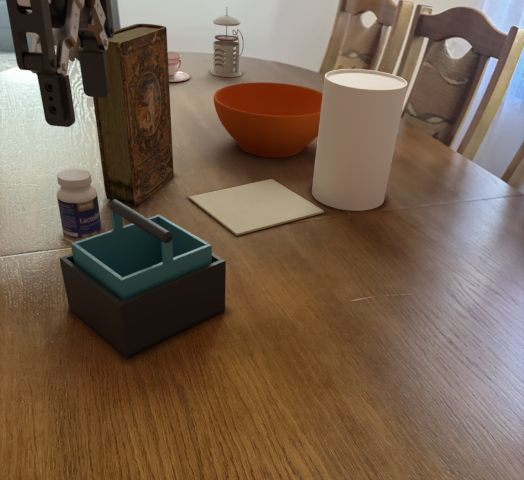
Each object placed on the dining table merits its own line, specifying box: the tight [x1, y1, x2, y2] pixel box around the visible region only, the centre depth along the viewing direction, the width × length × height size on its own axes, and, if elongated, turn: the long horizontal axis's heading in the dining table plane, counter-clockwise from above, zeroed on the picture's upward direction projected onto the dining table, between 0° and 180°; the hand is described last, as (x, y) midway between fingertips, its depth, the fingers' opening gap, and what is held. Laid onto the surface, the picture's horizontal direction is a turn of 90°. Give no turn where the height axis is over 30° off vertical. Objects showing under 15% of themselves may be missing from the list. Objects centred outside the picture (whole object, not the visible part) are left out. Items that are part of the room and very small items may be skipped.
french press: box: [209, 8, 245, 78], centre depth 164 cm, size 10×12×25 cm
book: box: [92, 23, 175, 206], centre depth 94 cm, size 16×6×25 cm, turn 161°
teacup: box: [168, 51, 191, 83], centre depth 162 cm, size 12×12×6 cm
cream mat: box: [188, 178, 325, 237], centre depth 99 cm, size 18×16×1 cm
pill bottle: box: [56, 168, 103, 244], centre depth 83 cm, size 6×6×10 cm
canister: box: [311, 68, 408, 212], centre depth 98 cm, size 14×14×20 cm
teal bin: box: [70, 199, 213, 301], centre depth 68 cm, size 13×11×13 cm
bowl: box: [213, 81, 323, 158], centre depth 120 cm, size 25×25×10 cm
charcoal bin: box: [58, 252, 227, 360], centre depth 70 cm, size 15×13×8 cm
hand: (80, 109), depth 48 cm, fingers open, 8 cm apart
